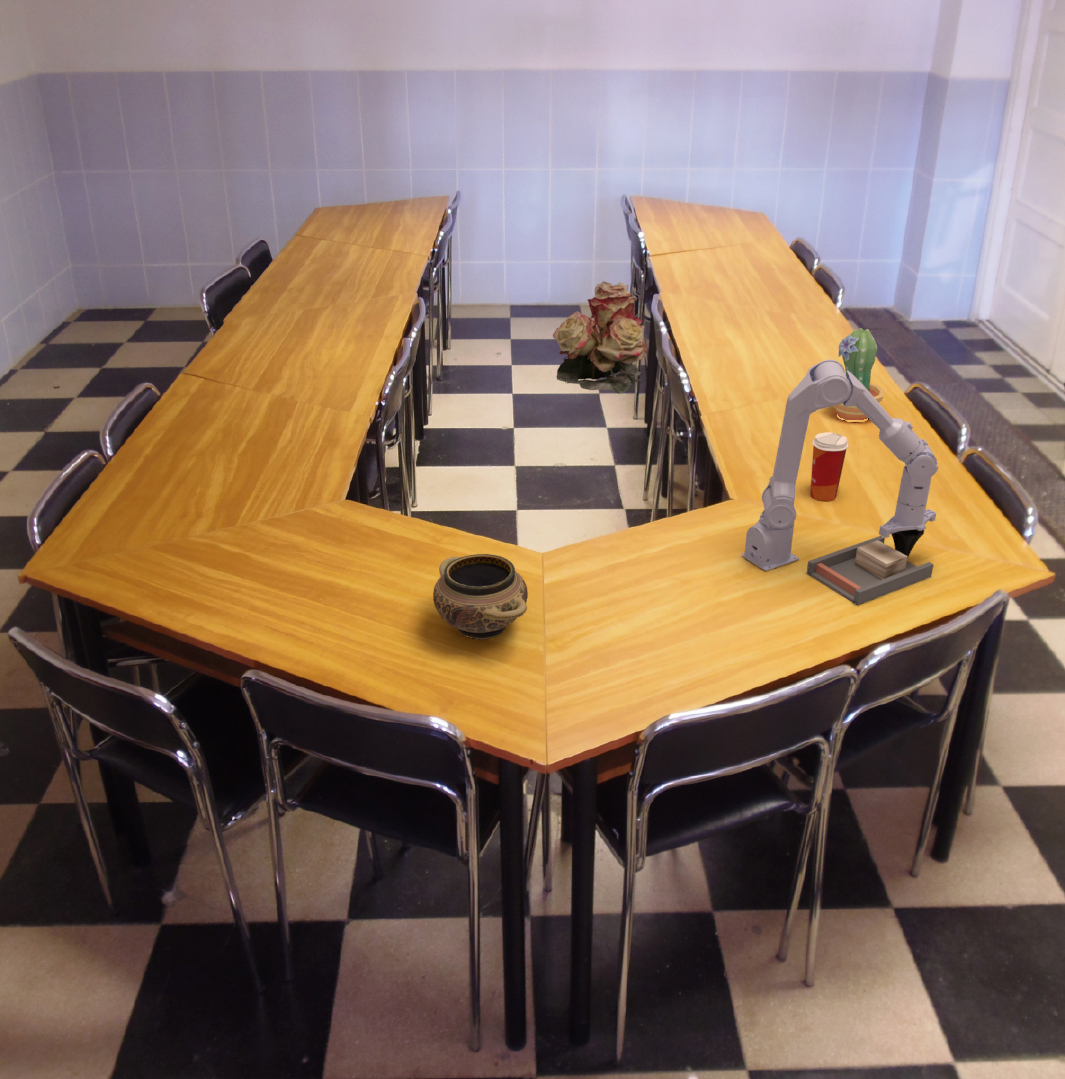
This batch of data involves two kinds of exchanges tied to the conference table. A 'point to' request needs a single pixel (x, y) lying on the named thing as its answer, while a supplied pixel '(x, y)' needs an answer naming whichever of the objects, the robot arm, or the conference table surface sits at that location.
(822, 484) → the coffee cup
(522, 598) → the ceramic bowl
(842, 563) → the bay
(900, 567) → the tan layered slab
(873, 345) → the potted cactus
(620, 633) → the conference table surface
